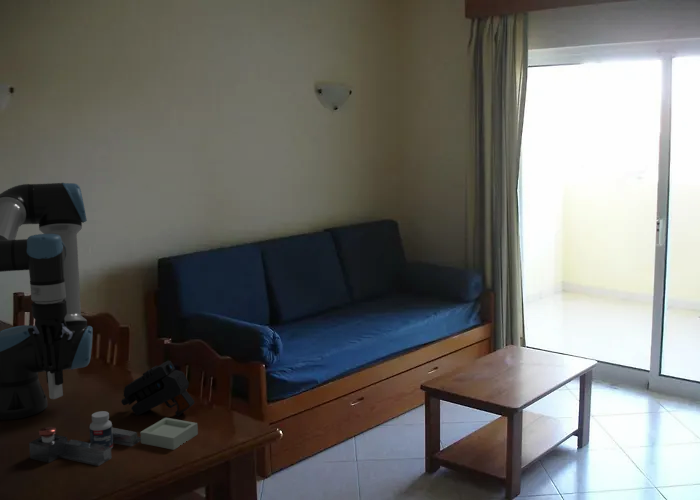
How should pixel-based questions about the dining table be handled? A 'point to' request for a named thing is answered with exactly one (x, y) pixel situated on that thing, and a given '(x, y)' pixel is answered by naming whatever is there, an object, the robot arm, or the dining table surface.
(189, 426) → the tray
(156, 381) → the tool
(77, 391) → the dining table surface
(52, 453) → the block
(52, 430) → the plunger
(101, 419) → the pill bottle
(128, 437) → the socket
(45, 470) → the dining table surface
